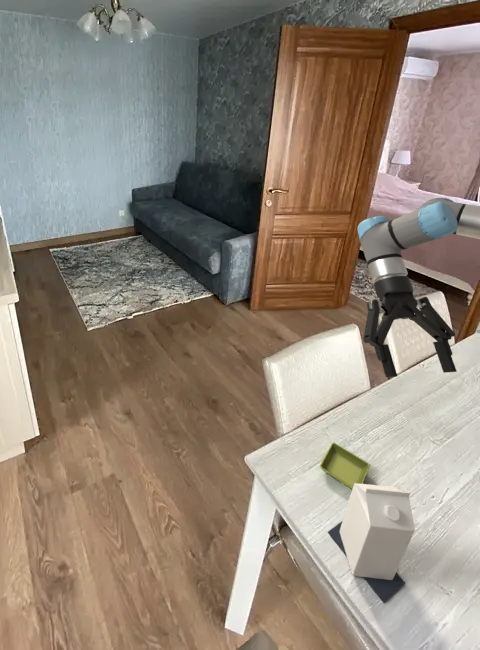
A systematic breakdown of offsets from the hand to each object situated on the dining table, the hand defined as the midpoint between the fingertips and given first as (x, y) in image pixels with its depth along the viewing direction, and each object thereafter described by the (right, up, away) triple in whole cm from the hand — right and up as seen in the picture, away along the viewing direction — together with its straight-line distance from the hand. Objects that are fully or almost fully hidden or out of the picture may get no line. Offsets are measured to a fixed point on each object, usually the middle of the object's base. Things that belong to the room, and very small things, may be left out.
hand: (421, 374), depth 74 cm
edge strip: (-16, -32, -8) cm, 37 cm away
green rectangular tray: (-13, -26, +8) cm, 30 cm away
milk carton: (-16, -32, -7) cm, 37 cm away
